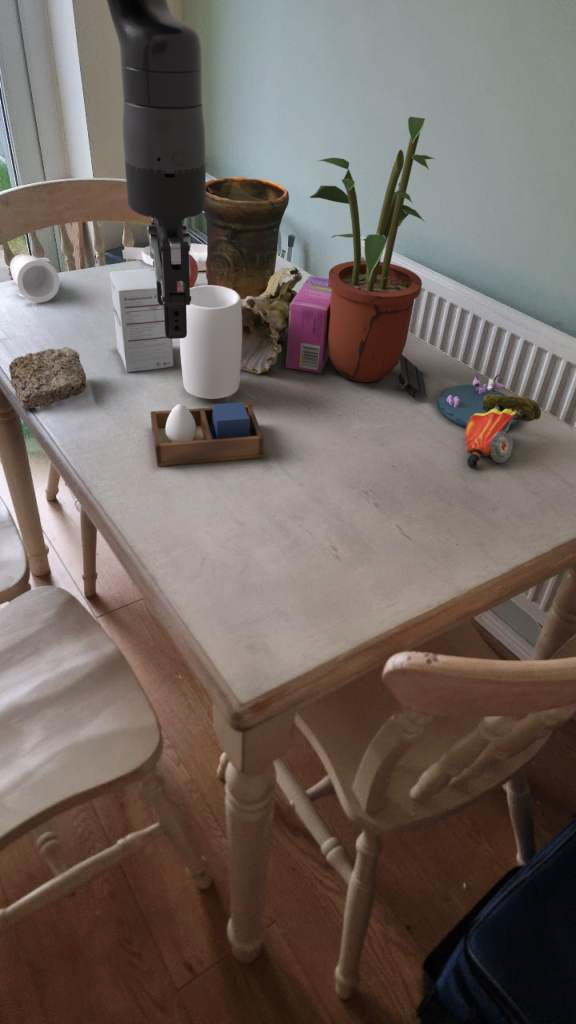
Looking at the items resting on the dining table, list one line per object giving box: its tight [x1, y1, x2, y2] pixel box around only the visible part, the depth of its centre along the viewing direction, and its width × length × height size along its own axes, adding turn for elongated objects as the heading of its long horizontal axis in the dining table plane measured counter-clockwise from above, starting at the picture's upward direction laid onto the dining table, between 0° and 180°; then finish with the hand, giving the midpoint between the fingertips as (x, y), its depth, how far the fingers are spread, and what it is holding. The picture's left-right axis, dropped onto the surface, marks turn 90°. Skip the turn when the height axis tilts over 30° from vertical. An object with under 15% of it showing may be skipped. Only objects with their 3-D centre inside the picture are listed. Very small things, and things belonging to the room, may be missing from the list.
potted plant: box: [309, 116, 435, 383], centre depth 95 cm, size 17×16×35 cm
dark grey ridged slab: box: [398, 354, 428, 400], centre depth 104 cm, size 5×9×2 cm
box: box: [285, 275, 332, 374], centre depth 107 cm, size 10×6×12 cm
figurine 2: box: [465, 394, 542, 469], centre depth 91 cm, size 8×5×12 cm
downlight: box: [9, 253, 61, 303], centre depth 120 cm, size 8×7×10 cm
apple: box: [177, 254, 199, 292], centre depth 124 cm, size 7×7×8 cm
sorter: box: [150, 404, 264, 467], centre depth 89 cm, size 13×8×3 cm, turn 103°
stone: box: [8, 346, 87, 410], centre depth 95 cm, size 9×5×10 cm
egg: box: [166, 403, 196, 443], centre depth 87 cm, size 4×4×6 cm
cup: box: [179, 284, 242, 400], centre depth 95 cm, size 8×8×14 cm
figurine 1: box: [240, 266, 303, 374], centre depth 108 cm, size 12×12×20 cm
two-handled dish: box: [122, 242, 207, 272], centre depth 137 cm, size 10×25×2 cm, turn 88°
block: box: [211, 401, 249, 439], centre depth 88 cm, size 4×4×4 cm
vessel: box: [203, 176, 290, 323], centre depth 115 cm, size 14×14×20 cm
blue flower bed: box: [436, 371, 520, 430], centre depth 98 cm, size 12×12×7 cm
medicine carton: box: [109, 267, 175, 373], centre depth 102 cm, size 7×7×13 cm
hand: (171, 319), depth 75 cm, fingers open, 8 cm apart
